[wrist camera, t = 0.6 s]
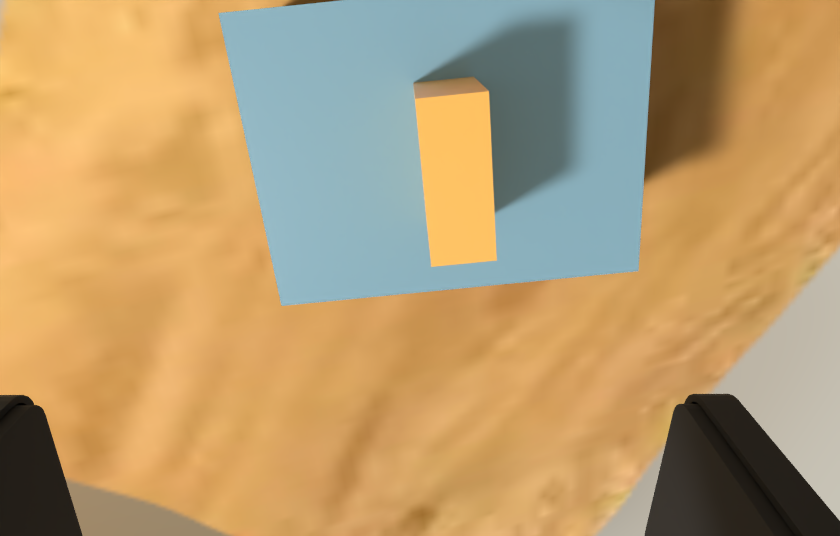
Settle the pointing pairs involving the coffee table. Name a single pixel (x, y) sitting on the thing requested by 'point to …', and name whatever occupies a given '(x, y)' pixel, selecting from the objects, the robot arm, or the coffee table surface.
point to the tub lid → (444, 140)
